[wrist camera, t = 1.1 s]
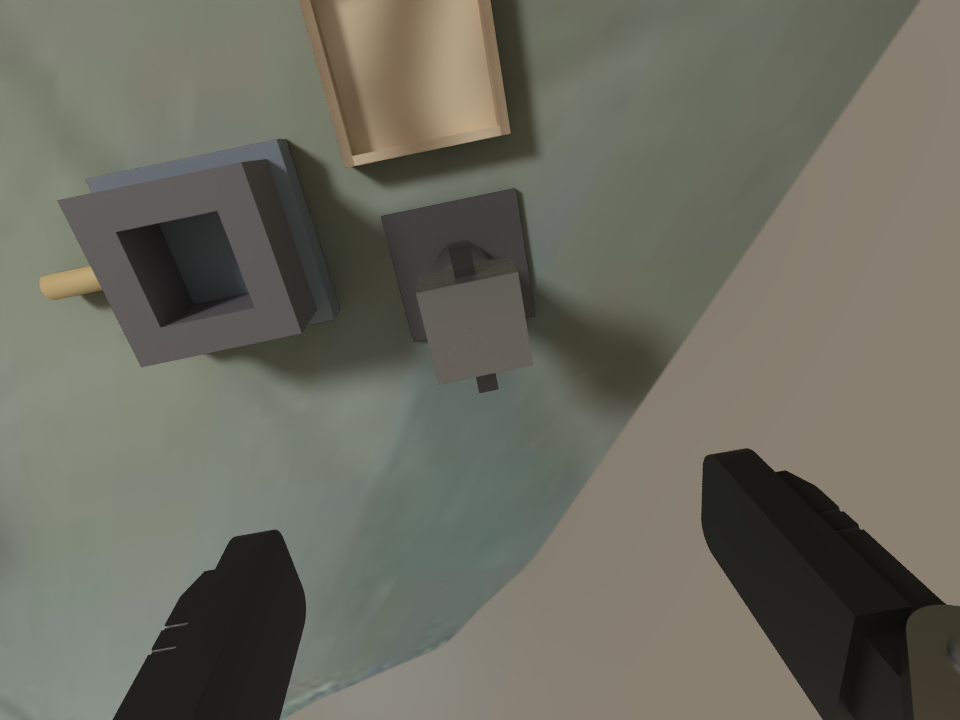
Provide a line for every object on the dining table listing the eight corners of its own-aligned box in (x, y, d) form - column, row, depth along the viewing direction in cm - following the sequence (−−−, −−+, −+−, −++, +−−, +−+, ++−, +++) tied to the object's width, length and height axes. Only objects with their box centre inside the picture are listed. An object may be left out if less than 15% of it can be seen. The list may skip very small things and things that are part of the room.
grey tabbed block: (485, 206, 30) (512, 240, 20) (505, 314, 33) (537, 390, 23) (415, 220, 30) (408, 261, 20) (440, 327, 33) (445, 410, 23)
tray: (475, -61, 26) (478, -74, 24) (506, 133, 29) (510, 133, 28) (298, -24, 26) (289, -35, 24) (350, 166, 29) (345, 167, 28)
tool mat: (514, 188, 31) (515, 189, 30) (534, 314, 34) (535, 316, 33) (381, 216, 31) (381, 216, 30) (414, 340, 34) (413, 342, 33)
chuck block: (286, 139, 29) (252, 139, 23) (340, 309, 33) (321, 344, 27) (17, 195, 28) (-82, 208, 23) (104, 359, 32) (38, 404, 27)
